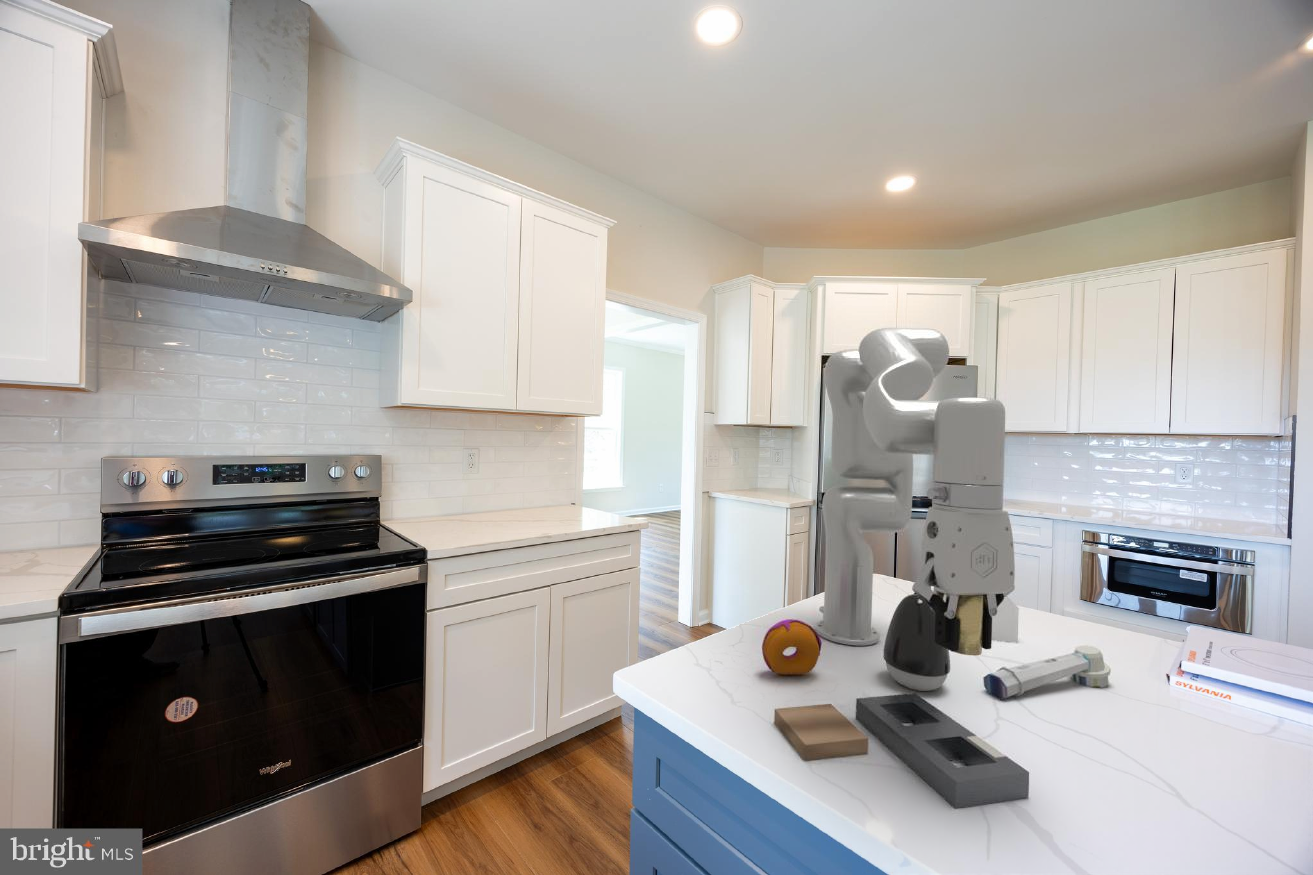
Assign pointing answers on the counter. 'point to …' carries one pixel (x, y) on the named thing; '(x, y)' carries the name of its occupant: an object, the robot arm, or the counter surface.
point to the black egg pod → (915, 647)
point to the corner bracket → (1004, 621)
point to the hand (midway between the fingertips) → (962, 644)
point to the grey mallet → (1050, 673)
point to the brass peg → (970, 624)
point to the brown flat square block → (820, 732)
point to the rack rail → (942, 751)
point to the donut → (791, 636)
